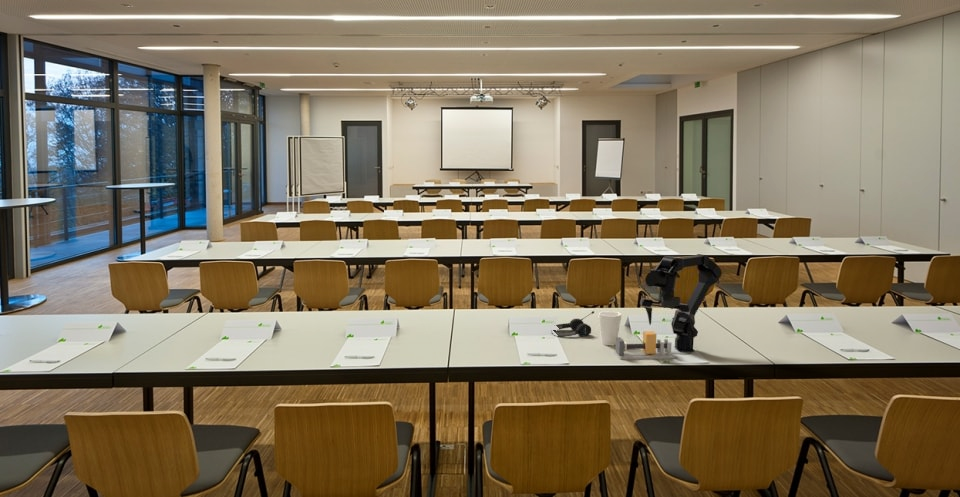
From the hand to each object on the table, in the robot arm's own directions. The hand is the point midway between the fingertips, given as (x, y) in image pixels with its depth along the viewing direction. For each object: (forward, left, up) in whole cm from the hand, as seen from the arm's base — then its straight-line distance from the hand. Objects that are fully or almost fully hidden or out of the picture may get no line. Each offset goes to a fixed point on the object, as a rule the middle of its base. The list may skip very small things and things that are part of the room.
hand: (661, 326), depth 290 cm
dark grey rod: (+7, 0, -10) cm, 12 cm away
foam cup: (+17, -18, -12) cm, 27 cm away
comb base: (+7, 0, -12) cm, 14 cm away
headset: (+29, -36, -12) cm, 48 cm away
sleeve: (+5, 0, -11) cm, 12 cm away
